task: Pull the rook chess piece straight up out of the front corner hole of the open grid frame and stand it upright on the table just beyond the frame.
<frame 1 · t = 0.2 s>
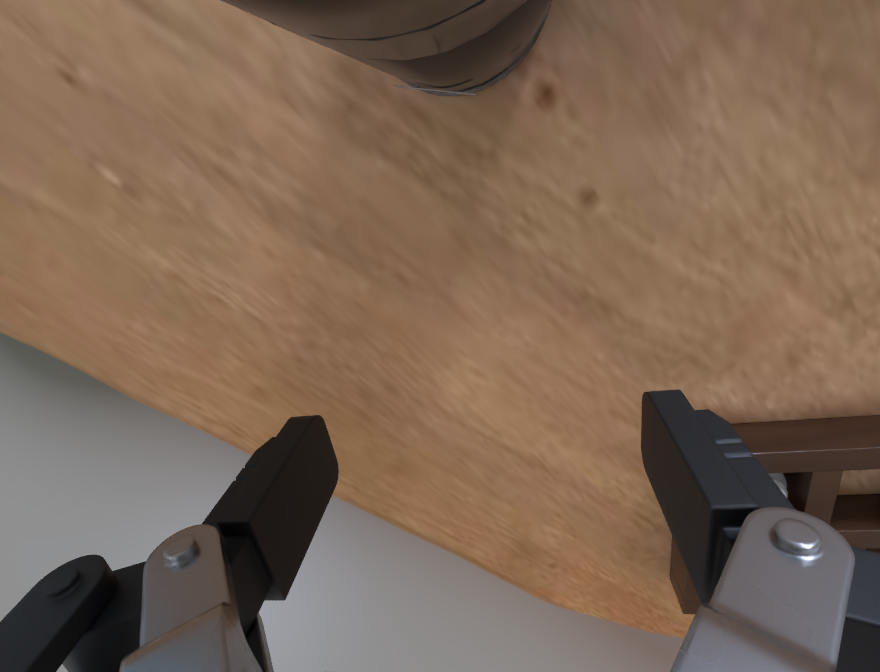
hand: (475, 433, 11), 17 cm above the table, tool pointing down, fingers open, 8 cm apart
open grid frame: (838, 504, 31), on the table
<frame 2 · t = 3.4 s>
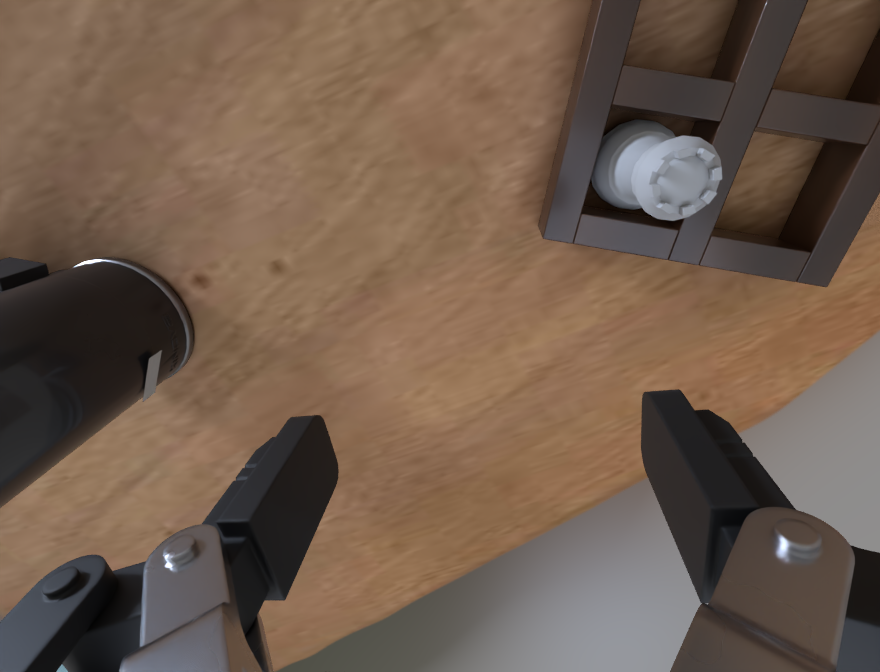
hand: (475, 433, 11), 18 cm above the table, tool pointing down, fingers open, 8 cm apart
open grid frame: (745, 30, 22), on the table
rook chess piece: (629, 164, 25), resting in open grid frame
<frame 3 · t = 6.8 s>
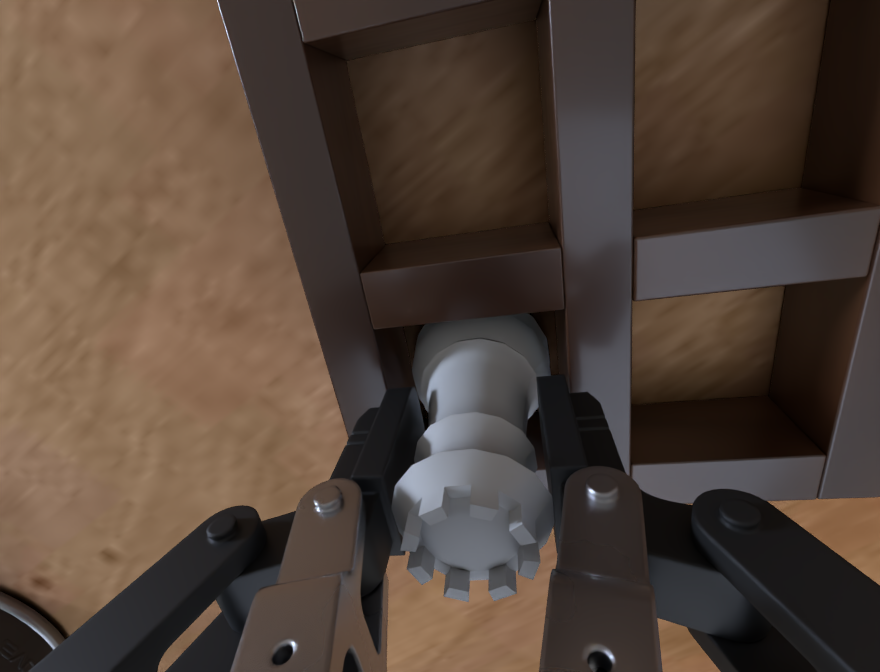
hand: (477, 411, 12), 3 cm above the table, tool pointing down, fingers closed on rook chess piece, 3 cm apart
open grid frame: (573, 123, 12), on the table
rook chess piece: (481, 350, 16), resting in open grid frame, touching gripper
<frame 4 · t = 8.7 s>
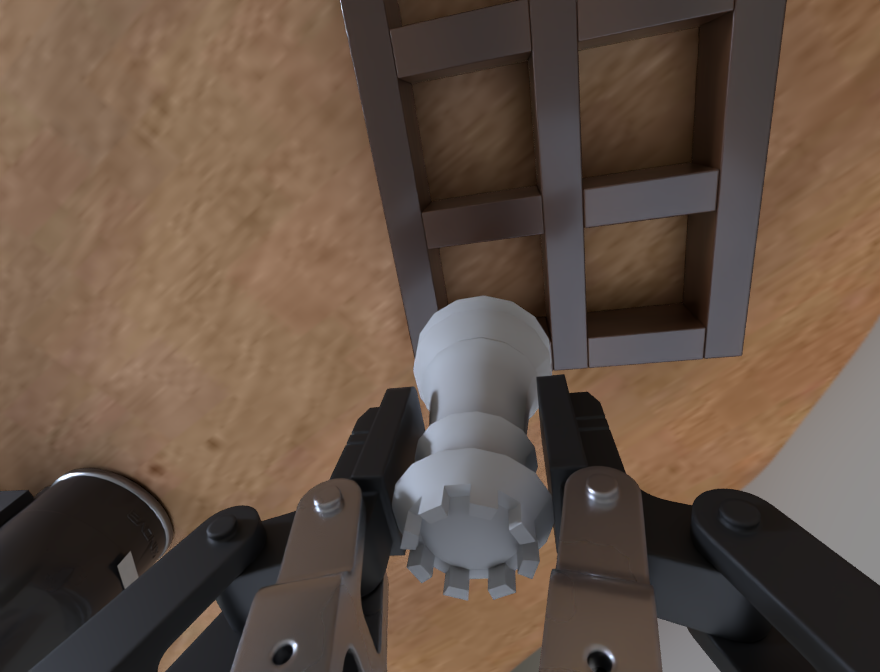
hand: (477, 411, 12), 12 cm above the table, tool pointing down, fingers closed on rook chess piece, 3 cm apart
open grid frame: (551, 123, 20), on the table
rook chess piece: (483, 349, 16), point 8 cm above the table, touching gripper
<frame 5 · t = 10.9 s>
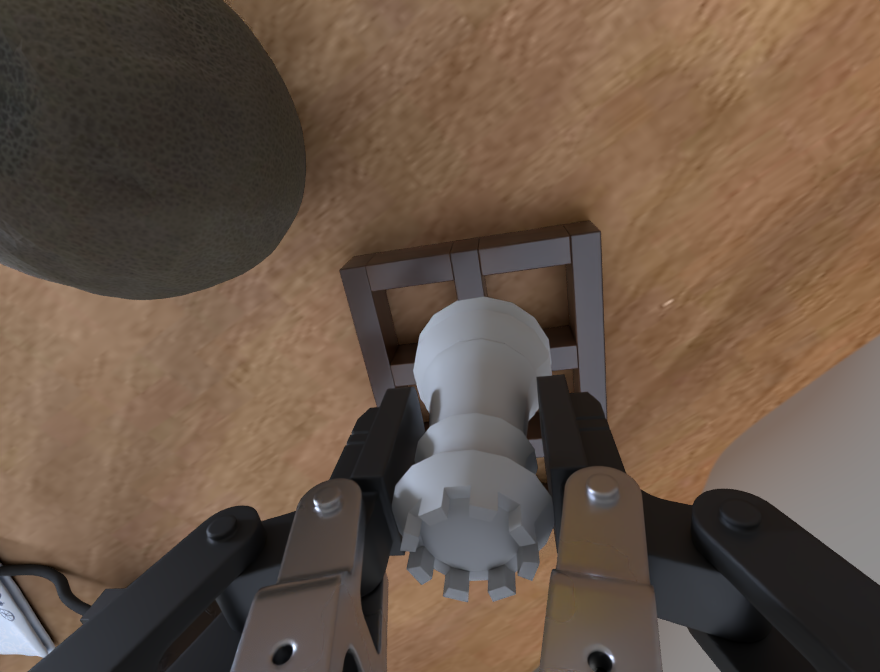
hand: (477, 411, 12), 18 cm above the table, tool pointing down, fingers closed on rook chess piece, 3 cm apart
open grid frame: (489, 387, 32), on the table
rook chess piece: (483, 350, 16), point 14 cm above the table, touching gripper
cantaloupe: (230, 134, 27), on the table
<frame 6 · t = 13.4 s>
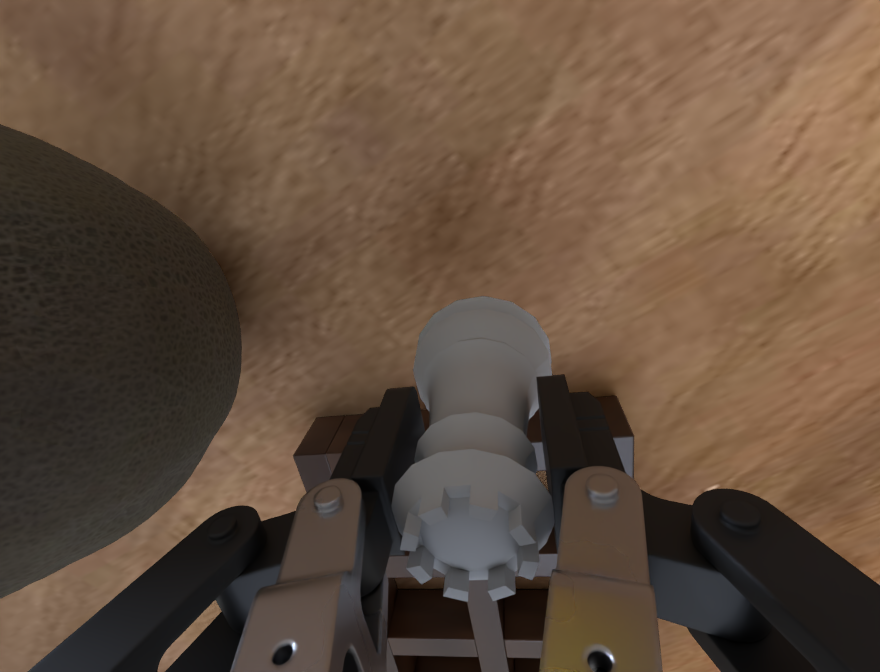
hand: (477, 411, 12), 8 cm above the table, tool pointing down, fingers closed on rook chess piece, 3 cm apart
open grid frame: (484, 560, 26), on the table
rook chess piece: (483, 350, 16), point 5 cm above the table, touching gripper
cantaloupe: (156, 275, 21), on the table
when the fingers open (3 cm above the table, at t = 14.9 s): rook chess piece stays where it is, on the table.
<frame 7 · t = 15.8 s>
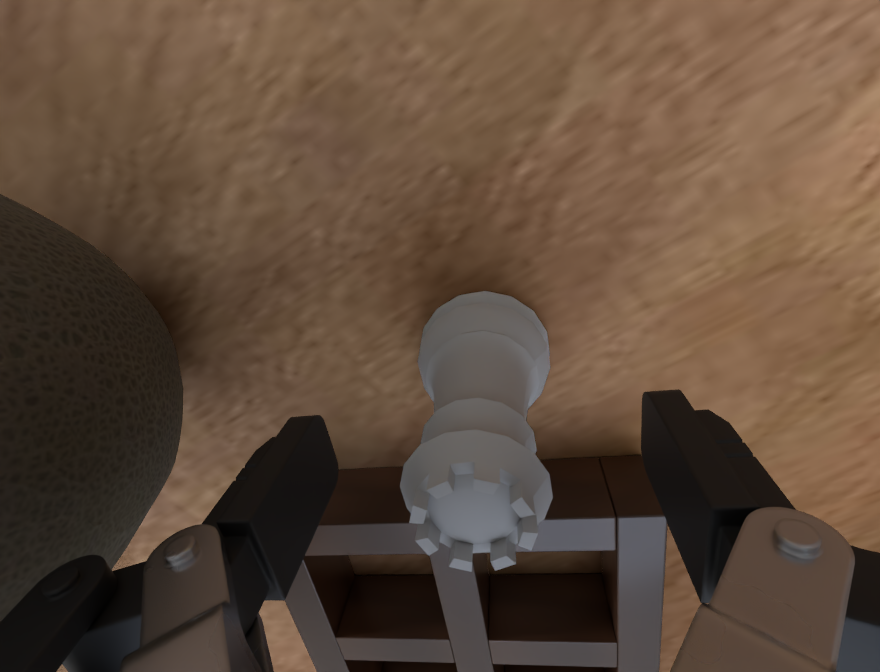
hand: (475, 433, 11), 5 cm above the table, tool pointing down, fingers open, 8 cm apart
open grid frame: (483, 630, 23), on the table
rook chess piece: (484, 343, 16), on the table
cantaloupe: (89, 308, 18), on the table
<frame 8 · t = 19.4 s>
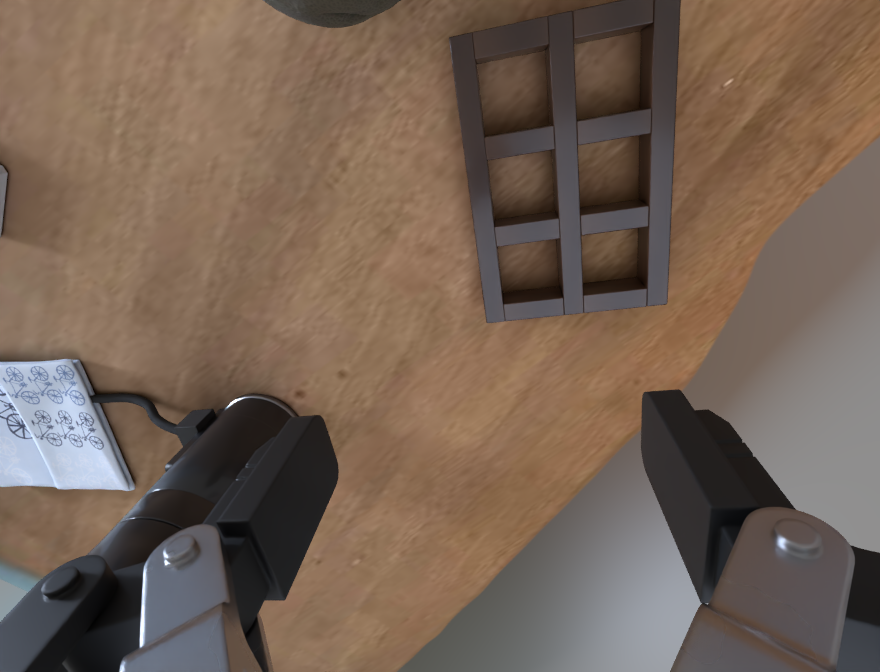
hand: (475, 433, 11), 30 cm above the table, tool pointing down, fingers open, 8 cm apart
open grid frame: (562, 178, 37), on the table
white flat piece: (41, 422, 55), on the table
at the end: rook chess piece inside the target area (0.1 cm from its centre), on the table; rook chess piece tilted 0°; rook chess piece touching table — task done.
